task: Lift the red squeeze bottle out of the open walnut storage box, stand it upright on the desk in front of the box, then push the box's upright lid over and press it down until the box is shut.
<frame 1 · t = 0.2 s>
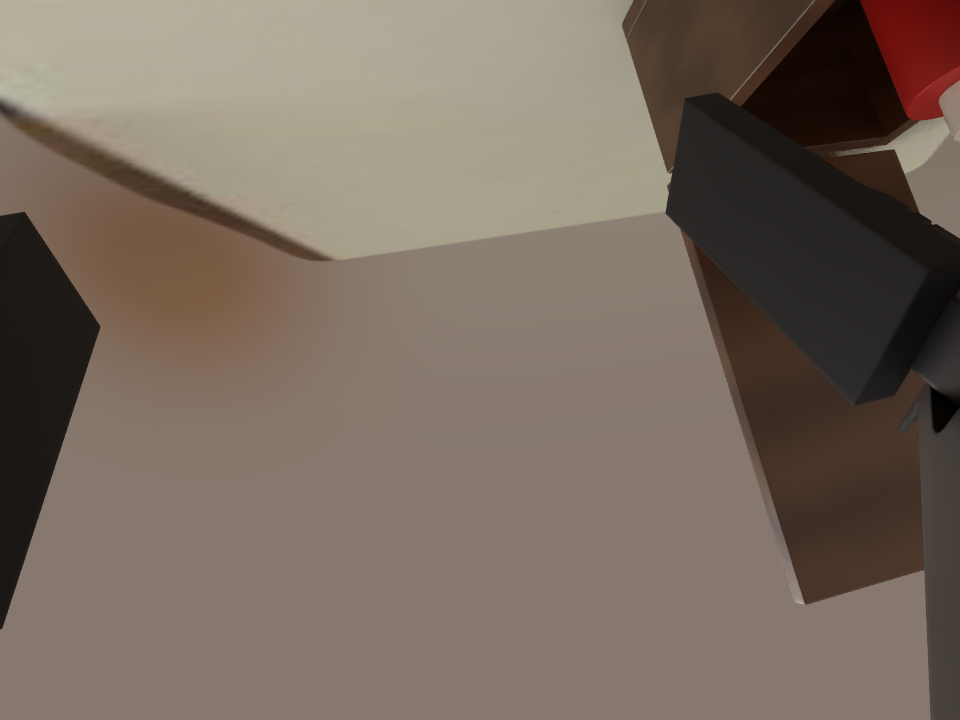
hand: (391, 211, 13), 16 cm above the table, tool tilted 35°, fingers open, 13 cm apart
lid: (849, 353, 30), point 20 cm above the table, hinge at 90.0°
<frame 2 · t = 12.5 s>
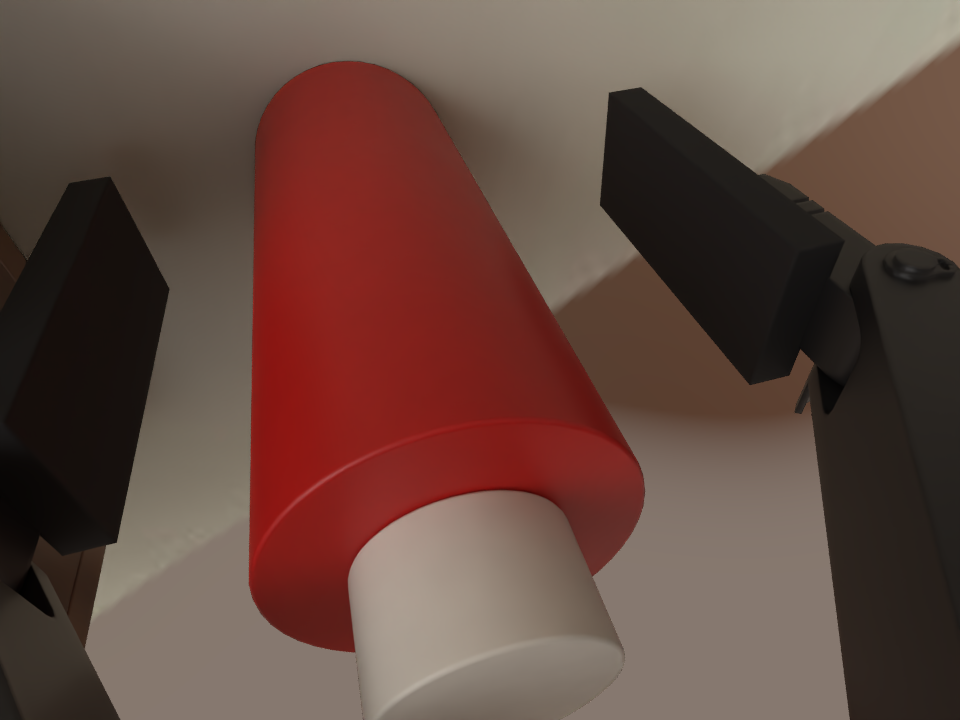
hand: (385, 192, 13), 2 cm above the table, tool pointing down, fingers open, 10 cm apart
bottle: (354, 161, 15), on the table
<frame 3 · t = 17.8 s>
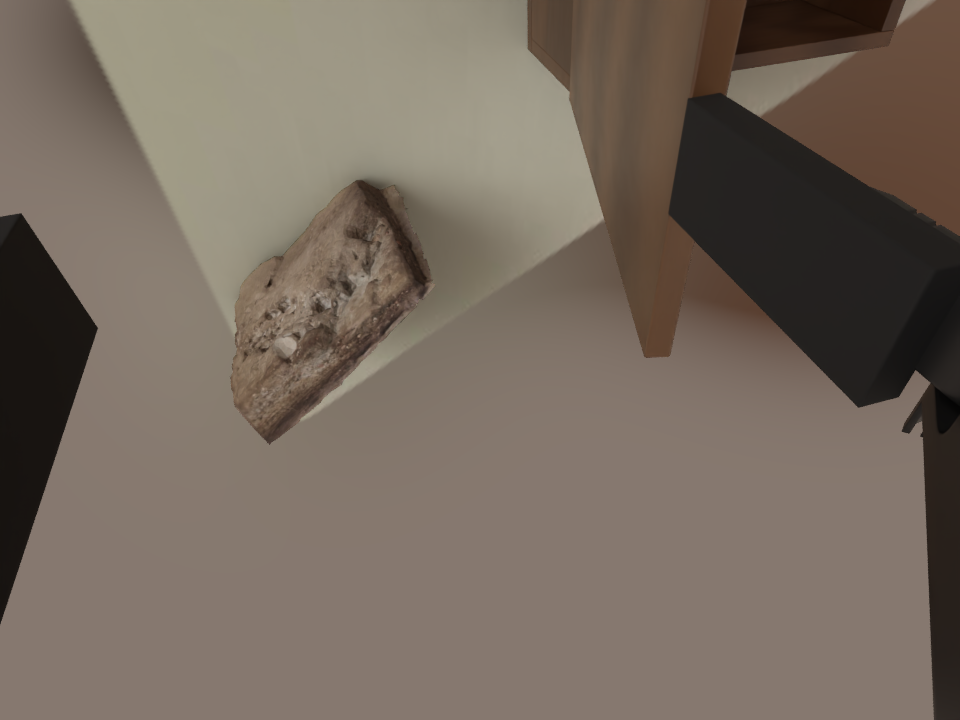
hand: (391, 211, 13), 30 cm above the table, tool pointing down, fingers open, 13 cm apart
lid: (620, 18, 21), point 19 cm above the table, hinge at 103.2°, touching gripper
mineral sample: (312, 241, 46), on the table
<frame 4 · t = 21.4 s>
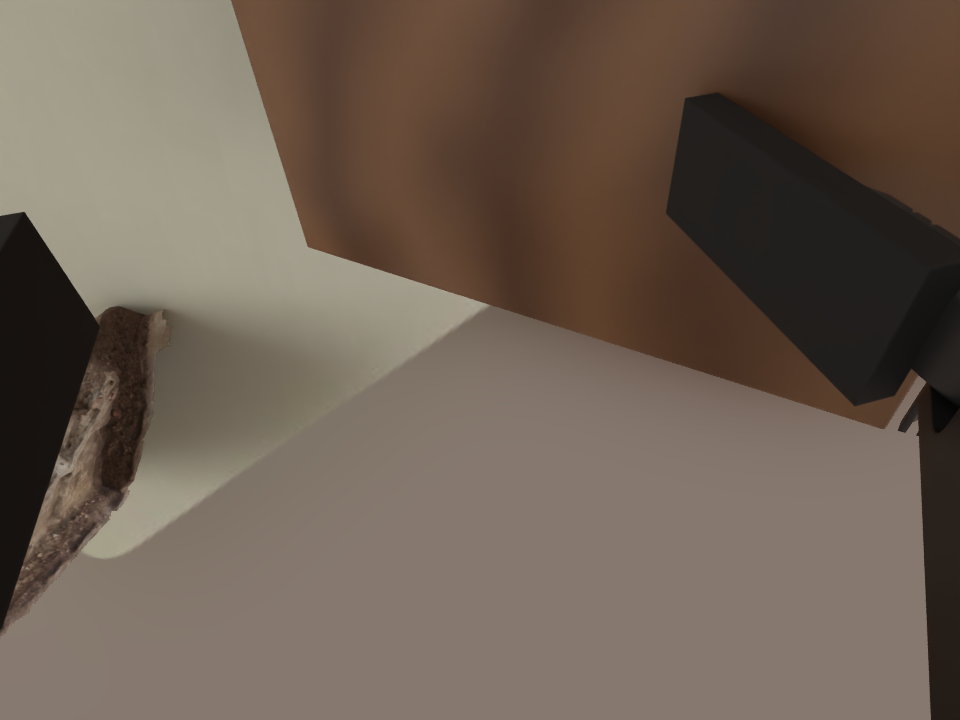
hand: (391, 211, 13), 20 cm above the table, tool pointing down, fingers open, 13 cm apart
lid: (541, 116, 16), point 17 cm above the table, hinge at 45.2°, touching gripper
mineral sample: (73, 374, 37), on the table
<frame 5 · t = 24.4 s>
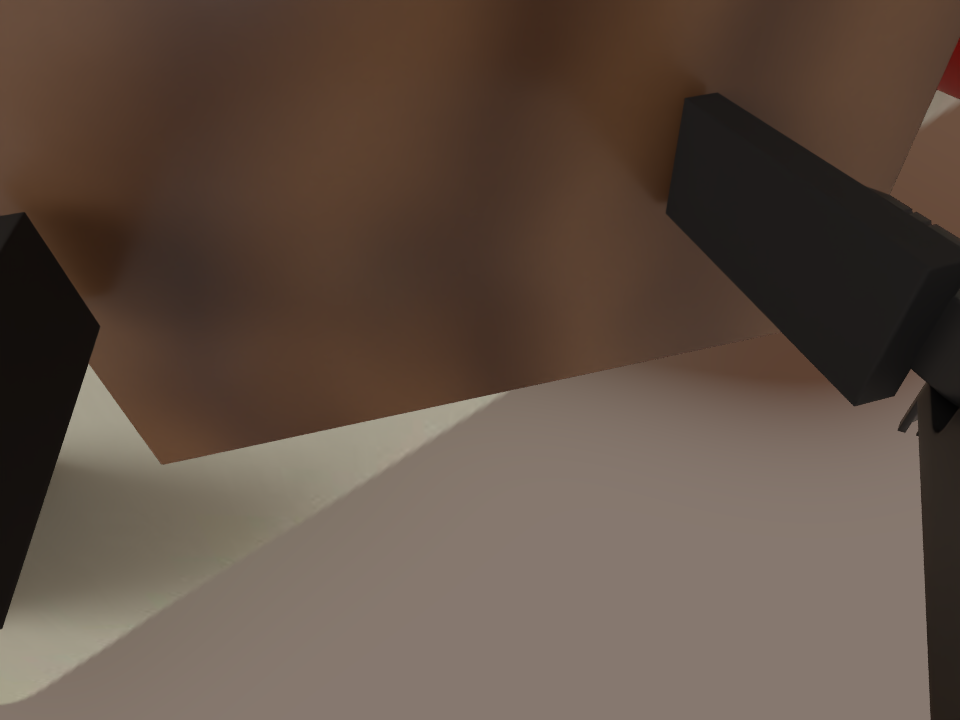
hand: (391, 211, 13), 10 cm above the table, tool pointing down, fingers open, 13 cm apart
lid: (510, 173, 13), point 10 cm above the table, hinge at 1.5°, touching gripper
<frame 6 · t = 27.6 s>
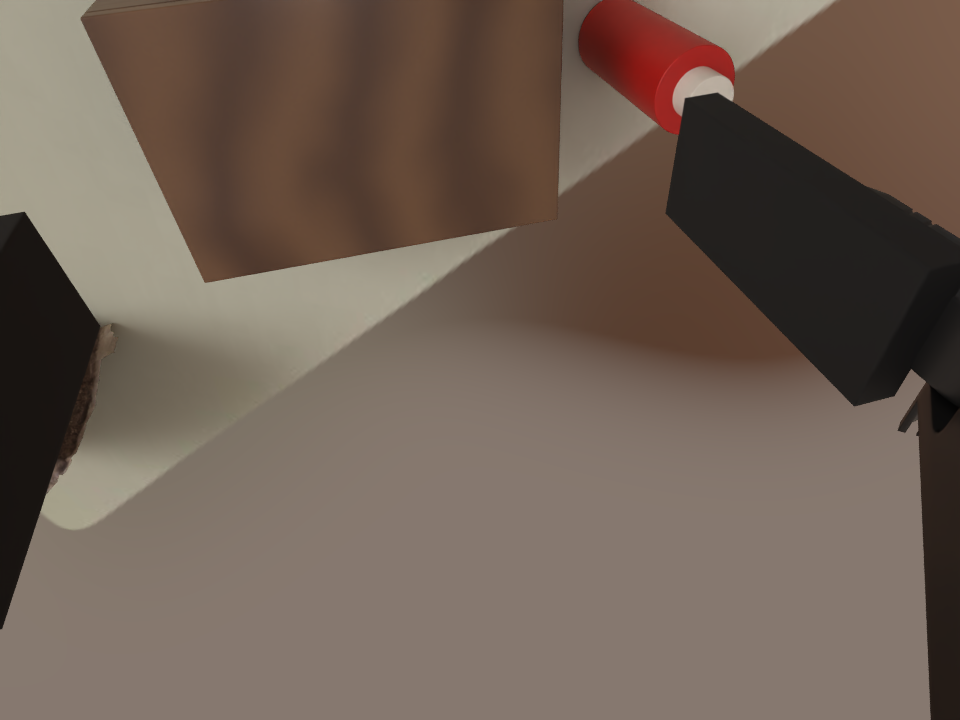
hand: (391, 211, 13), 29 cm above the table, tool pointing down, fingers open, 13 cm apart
bottle: (610, 35, 40), on the table
storage box: (340, 75, 37), on the table
lid: (364, 134, 30), point 10 cm above the table, hinge at 1.5°
mineral sample: (42, 374, 46), on the table
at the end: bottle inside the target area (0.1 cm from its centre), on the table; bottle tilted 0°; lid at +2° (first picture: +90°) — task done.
